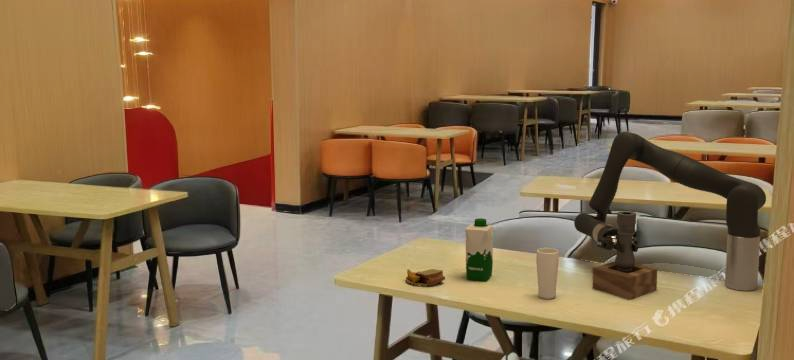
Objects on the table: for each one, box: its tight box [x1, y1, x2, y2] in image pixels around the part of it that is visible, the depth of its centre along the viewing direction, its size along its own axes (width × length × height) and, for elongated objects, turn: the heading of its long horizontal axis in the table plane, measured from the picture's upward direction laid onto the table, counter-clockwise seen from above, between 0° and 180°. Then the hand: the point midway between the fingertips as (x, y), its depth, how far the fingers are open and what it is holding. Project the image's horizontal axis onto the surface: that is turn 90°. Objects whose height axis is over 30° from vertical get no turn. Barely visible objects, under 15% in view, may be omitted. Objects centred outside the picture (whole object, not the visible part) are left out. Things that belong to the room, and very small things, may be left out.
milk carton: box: [464, 217, 494, 283], centre depth 237 cm, size 9×9×20 cm
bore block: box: [592, 260, 658, 300], centre depth 222 cm, size 14×14×7 cm
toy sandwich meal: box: [405, 268, 446, 287], centre depth 236 cm, size 12×14×5 cm
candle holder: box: [614, 210, 637, 274], centre depth 221 cm, size 6×6×25 cm
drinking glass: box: [535, 247, 560, 300], centre depth 216 cm, size 7×7×15 cm
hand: (629, 249), depth 218 cm, fingers closed on candle holder, 4 cm apart
